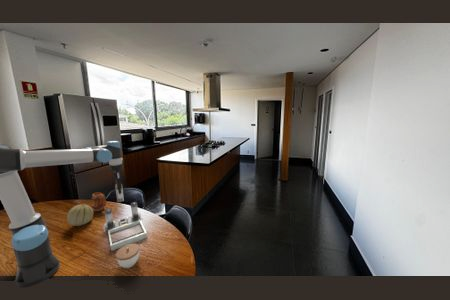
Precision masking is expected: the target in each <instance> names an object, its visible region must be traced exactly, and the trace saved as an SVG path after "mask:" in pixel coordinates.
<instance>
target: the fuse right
mask: <svg viewBox="0 0 450 300" xmlns="http://www.w3.org/2000/svg"><path fill="white" fill-rule="evenodd" d="M130 208H131V216H132V218H133V220H134V219H136V218H139V217H138V213H139V212H138V211H139V209H138V202H137V201H133V202H131V203H130Z"/></svg>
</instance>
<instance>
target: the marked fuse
mask: <svg viewBox="0 0 450 300" xmlns="http://www.w3.org/2000/svg"><path fill="white" fill-rule="evenodd" d="M114 188H115V194H116V202H117V203H122V202H124V201H125V199H124V190H123V188H122V195H123V197H122V198H118V193H117V190H116V189H117V184H116V183H115V185H114Z"/></svg>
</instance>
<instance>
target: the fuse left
mask: <svg viewBox="0 0 450 300" xmlns="http://www.w3.org/2000/svg"><path fill="white" fill-rule="evenodd" d="M104 215H105V216H104V217H105V223H106V224H107V228H108V227H110V226H114V223H113V222H114V219H113V217H114V216H113V210H112V208H107V209H105V210H104Z"/></svg>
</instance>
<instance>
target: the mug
mask: <svg viewBox="0 0 450 300" xmlns="http://www.w3.org/2000/svg"><path fill="white" fill-rule="evenodd" d="M90 200H91V201H92V203H93V206H92V207H91V208H92V209H93V210H94V211H95V212H99V211H102V210H104V209H105V207H106V205H107V200H106V196H105V194H104V193H102V192H94V193H92V195H91V198H90Z"/></svg>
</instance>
